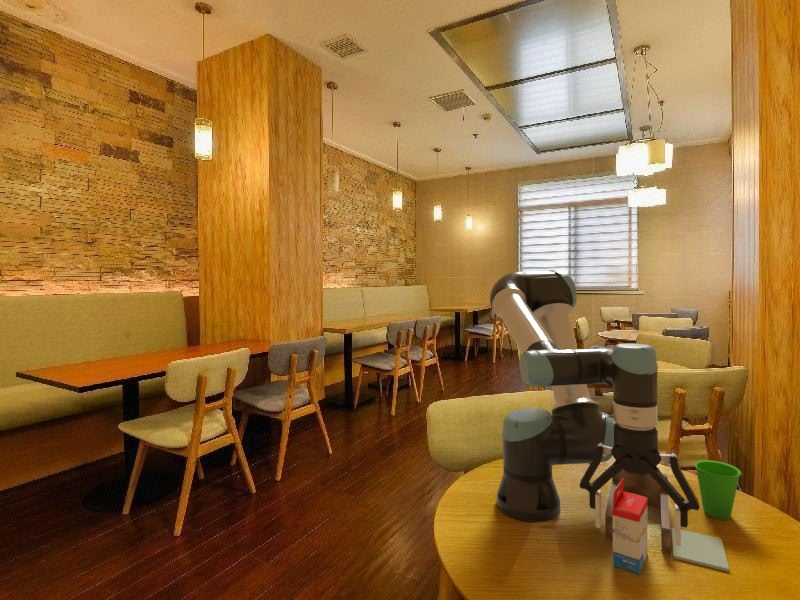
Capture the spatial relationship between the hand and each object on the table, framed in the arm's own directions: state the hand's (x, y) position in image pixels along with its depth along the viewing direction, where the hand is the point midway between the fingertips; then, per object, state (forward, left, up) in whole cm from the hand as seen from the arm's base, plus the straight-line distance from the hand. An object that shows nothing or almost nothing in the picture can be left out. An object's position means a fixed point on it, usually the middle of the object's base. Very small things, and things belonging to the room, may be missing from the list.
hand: (636, 533), depth 86 cm
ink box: (-1, +2, -7) cm, 7 cm away
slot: (0, +18, -7) cm, 19 cm away
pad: (+11, +11, -7) cm, 17 cm away
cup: (+16, +29, -7) cm, 34 cm away
